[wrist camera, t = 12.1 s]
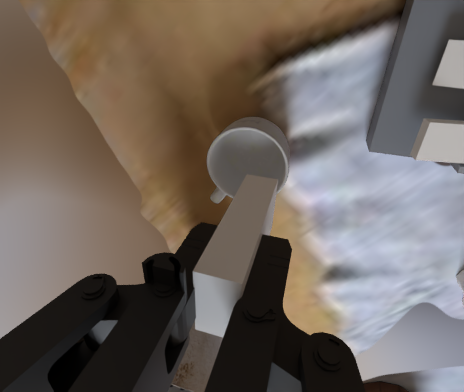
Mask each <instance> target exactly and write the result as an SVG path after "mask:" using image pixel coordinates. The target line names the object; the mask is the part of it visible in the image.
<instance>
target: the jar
mask: <svg viewBox="0 0 464 392" xmlns="http://www.w3.org/2000/svg"><path fill="white" fill-rule="evenodd" d="M456 278H457V282H458V284H459V286H460V288H461V289H462V291H463V300H462V304H463V307H464V270H462V271H461V272H460V273H459V274H458V275H457V276H456Z"/></svg>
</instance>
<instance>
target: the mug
mask: <svg viewBox="0 0 464 392" xmlns="http://www.w3.org/2000/svg"><path fill="white" fill-rule="evenodd" d="M363 385H364V389H365V392H408V391H407V390H405V389H404V388H402V387H401V386H399V385H394V384H389V383H384V382H380V381H379V382H373V383H367V384H363Z"/></svg>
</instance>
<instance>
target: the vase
mask: <svg viewBox="0 0 464 392" xmlns="http://www.w3.org/2000/svg"><path fill="white" fill-rule="evenodd" d="M189 334H190V340H189V344H188V347H187V349H186V352H185V354H184V356H183V358H182V361H181V363H180V365H179V367H178V370H177V372H176V374H175V376H174V379H173V381H172V383H171V386H170V388H169V390H168V392H204V391H205V388H206V385H207V382H208V380H209V377H210V374H211V371H212V368H213V365H214V362H215V359H216V357H217V354H218V351H219V348H220V345H221V342H222V339H223V337H219V336H216V335H213V334H209V333H206V332H203V331H199V330H196V329H195V321H194V323H193V325H192V327H191V330H190V332H189Z"/></svg>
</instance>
